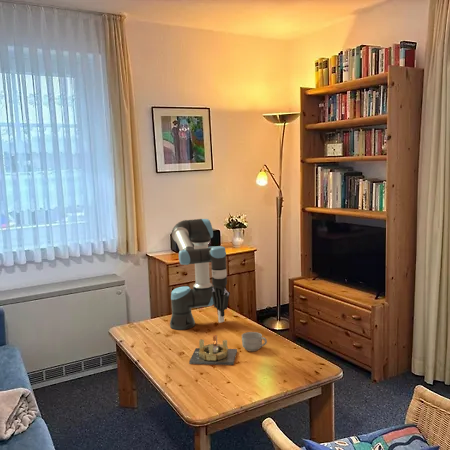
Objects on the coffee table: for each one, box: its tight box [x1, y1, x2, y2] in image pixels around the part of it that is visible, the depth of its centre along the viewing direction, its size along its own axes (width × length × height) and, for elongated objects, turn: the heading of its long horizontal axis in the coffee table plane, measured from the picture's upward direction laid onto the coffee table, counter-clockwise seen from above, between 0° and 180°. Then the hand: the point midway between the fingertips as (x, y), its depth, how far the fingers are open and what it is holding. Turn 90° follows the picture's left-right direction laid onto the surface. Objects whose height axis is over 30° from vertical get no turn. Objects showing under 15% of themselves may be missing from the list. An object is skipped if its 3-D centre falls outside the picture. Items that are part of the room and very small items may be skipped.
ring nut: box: [198, 334, 229, 361], centre depth 243 cm, size 14×14×8 cm
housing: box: [188, 346, 238, 366], centre depth 244 cm, size 16×22×6 cm
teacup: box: [241, 331, 268, 352], centre depth 251 cm, size 14×11×8 cm
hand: (221, 321), depth 245 cm, fingers closed
